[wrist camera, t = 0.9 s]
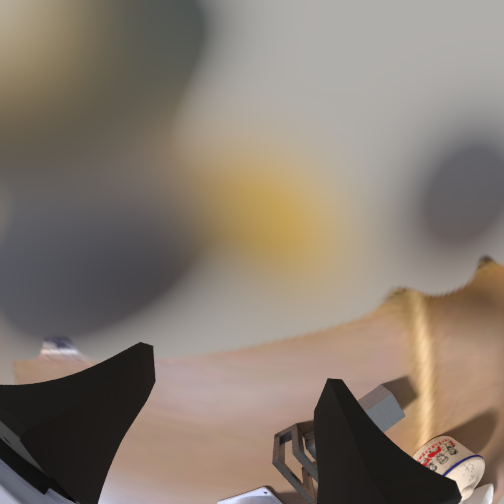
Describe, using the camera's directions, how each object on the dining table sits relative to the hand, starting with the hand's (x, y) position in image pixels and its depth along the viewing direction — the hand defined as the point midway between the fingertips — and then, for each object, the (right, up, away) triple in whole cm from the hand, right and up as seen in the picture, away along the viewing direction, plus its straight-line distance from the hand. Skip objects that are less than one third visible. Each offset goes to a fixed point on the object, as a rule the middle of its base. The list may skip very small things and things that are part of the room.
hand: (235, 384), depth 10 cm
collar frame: (+7, -19, +17) cm, 26 cm away
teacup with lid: (+25, -25, +13) cm, 38 cm away
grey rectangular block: (+13, -15, +17) cm, 26 cm away
